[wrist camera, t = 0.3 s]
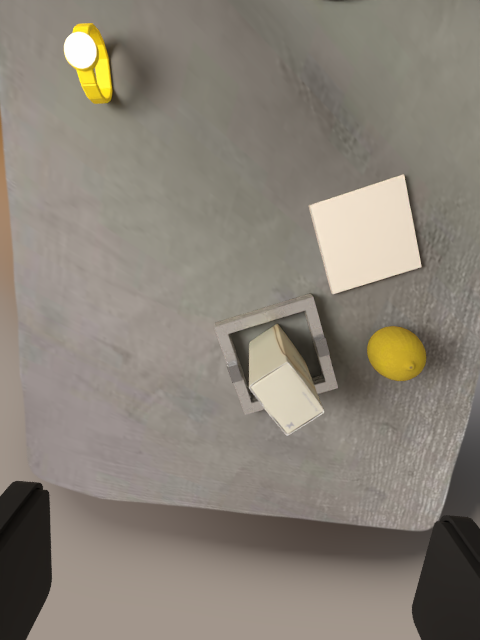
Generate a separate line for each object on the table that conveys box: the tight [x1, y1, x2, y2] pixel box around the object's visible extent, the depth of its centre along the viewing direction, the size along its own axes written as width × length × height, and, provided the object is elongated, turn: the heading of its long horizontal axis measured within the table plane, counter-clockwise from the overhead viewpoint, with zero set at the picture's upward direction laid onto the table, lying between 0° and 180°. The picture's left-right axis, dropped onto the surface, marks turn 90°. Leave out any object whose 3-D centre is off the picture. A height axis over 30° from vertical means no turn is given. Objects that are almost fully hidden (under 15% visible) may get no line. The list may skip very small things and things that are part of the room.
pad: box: [309, 175, 422, 294], centre depth 41 cm, size 10×10×1 cm
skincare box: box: [249, 324, 324, 436], centre depth 40 cm, size 6×4×12 cm
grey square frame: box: [214, 293, 338, 415], centre depth 44 cm, size 11×11×3 cm
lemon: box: [367, 326, 426, 381], centre depth 41 cm, size 6×6×8 cm
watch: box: [64, 23, 113, 104], centre depth 35 cm, size 6×3×6 cm, turn 2°
